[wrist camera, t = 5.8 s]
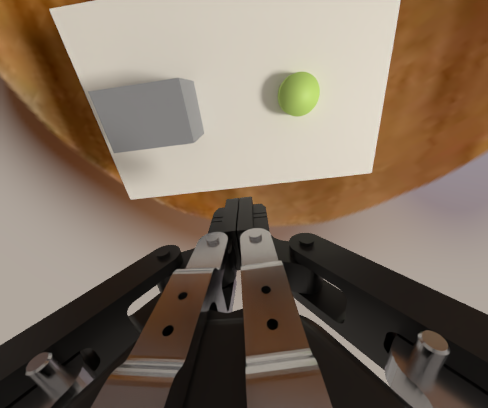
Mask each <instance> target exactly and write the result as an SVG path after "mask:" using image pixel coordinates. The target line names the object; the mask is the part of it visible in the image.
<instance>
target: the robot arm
mask: <svg viewBox="0 0 488 408" xmlns="http://www.w3.org/2000/svg"><path fill="white" fill-rule="evenodd" d="M237 270H241V282H242V300H243V309H240V310H237V311H234V312H232V308H233V303H234V296H235V290H236V272H237ZM323 279H325V280H327V281H328V282H330V283H331V284H333V285H335V286H336V287H338V288H339V289H340V290H339V289H337V288H336V287H334V286H333V285H331V284H329V283H327V282H326V281H325V280H323ZM156 285H158V288H159V290H160V294H158V295H157V296H156V297H154V298H153V299H152V300H151V301H149V302H148V303H147V304H145V305H144V306H143V307H142V308H140V309H139V310H138V311H136V312H135V313H134V314H132V315H131V316H128V315H127V310H128V308H129V306H130V305H131V304H132V303H133V302H134V301H135V300H137V299H138V298H139V297H141V296H142V295H143V294H145V293H146V292H147V291H149V290H150V289H151V288H153V287H154V286H156ZM294 298H295V299H296V300H297V301H299V302H300V303H301V304H303V305H304V306H305V307H306V308H307V309H309V310H310V311H311V312H313V313H314V314H315V315H316V316H317V317H319V318H320V319H321V320H322V321H324V322H325V323H326V324H327V325H329V326H330V327H331V328H332V329H334V330H335V331H336V332H338V333H339V334H340V335H341V336H342V337H344V338H345V339H346V340H347V341H349V342H350V343H351V344H352V345H354V346H355V347H356V348H357V349H359V350H360V351H361V352H362V353H364V354H365V355H366V356H367V357H369V358H370V359H371V360H373V361H374V362H375V363H376V364H377V365H379V366H380V367H381V368H383V369H384V370H385V375H386V379H387V381H388V383H389V385H390V387H391V388H390V387H389V386H388V385H387V384H386V383H384V382H383V381H382V380H381V379H380V378H379V377H378V376H377V375H375V374H374V373H373V372H372V371H371V370H370V369H369V368H368V367H366V366H365V365H364V364H363V363H362V362H361V361H360V360H358V359H357V358H356V357H355V356H354V355H353V354H351V353H350V352H349V351H348V350H347V349H346V348H345V347H344V346H342V345H341V344H340V343H339V342H338V341H337V340H336V339H335V338H333V337H332V336H331V335H330V334H329V333H327V331H325V330H324V329H323V328H322V327H321V326H319V325H318V324H316V323H315V322H313V321H312V320H310V319H308V318H306V317H304V316H301V315H299V313H298V310H297V307H296V304H295V300H294ZM0 408H488V315H487V314H485V313H483V312H481V311H478V310H476V309H474V308H472V307H470V306H468V305H466V304H464V303H461V302H459V301H457V300H455V299H453V298H451V297H448V296H446V295H444V294H442V293H440V292H438V291H436V290H433V289H431V288H429V287H427V286H425V285H423V284H420V283H418V282H416V281H414V280H412V279H409V278H407V277H405V276H403V275H401V274H399V273H397V272H394V271H392V270H390V269H388V268H386V267H384V266H382V265H379V264H377V263H375V262H373V261H371V260H369V259H366V258H364V257H362V256H360V255H358V254H356V253H354V252H351V251H349V250H347V249H345V248H343V247H341V246H339V245H336V244H334V243H332V242H330V241H328V240H326V239H323V238H321V237H319V236H317V235H314V234H310V233H300V234H296V235H294V236H292V237H291V238H290V240H289V241H282V240H278V239H276V238H274V237H273V236H272V235H271V234H270V232H269V225H268V219H267V213H266V207H265V206H263V205H262V204H254V205H253V202H252V197H244V198H240V200H239V198H235V199H227V200H226V205H225V208H219V209H218V210H216V211H215V212H214V215H213V219H212V221H211V225H210V228H209V231H208V234H206V235H204V236H203V237H202V238H200V239H199V241H198V243H197V245H196V247H195V248H194V249H191V250H187V251H184V252H181V251H180V248H179V247H178V246H176V245H166V246H163V247H160V248H158V249H156V250H154V251H153V252H151V253H150V254H148V255H146V256H145V257H143V258H142V259H140V260H138V261H137V262H135V263H133V264H132V265H130V266H129V267H127V268H125V269H124V270H122V271H121V272H119V273H117V274H116V275H114V276H112V277H111V278H109V279H107V280H106V281H104V282H103V283H101V284H99V285H98V286H96V287H94V288H93V289H91V290H89V291H88V292H86V293H85V294H83V295H82V296H80V297H79V298H77V299H75V300H73V301H72V302H70V303H69V304H67V305H65V306H64V307H62V308H60V309H59V310H57V311H55V312H54V313H52V314H51V315H49V316H47V317H46V318H44V319H42V320H41V321H39V322H38V323H36V324H34V325H33V326H31V327H30V328H28V329H26V330H25V331H23V332H21V333H20V334H18V335H16V336H15V337H13V338H12V339H10V340H8V341H7V342H5V343H4V344H2V345H0Z"/></svg>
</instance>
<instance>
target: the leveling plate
mask: <svg viewBox="0 0 488 408" xmlns="http://www.w3.org/2000/svg"><path fill="white" fill-rule="evenodd" d="M400 1H401V0H95V1H90V2H84V3H79V4H74V5H68V6H63V7H57V8H52V9H49V10H50V13H51V15H52V17H53V20H54V22H55V24H56V27H57V29H58V31H59V34H60V36H61V38H62V41H63V43H64V45H65V48H66V50H67V52H68V55H69V57H70V59H71V62H72V64H73V66H74V69H75V71H76V73H77V76H78V78H79V80H80V83H81V85H82V87H83V90H84V92H85V94H86V97H87V99H88V101H89V104H90V106H91V108H92V111H93V113H94V115H95V118H96V120H97V122H98V125H99V127H100V129H101V132H102V134H103V136H104V139H105V141H106V144H107V146H108V148H109V151H110V153H111V155H112V158H113V160H114V162H115V165H116V167H117V169H118V172H119V174H120V176H121V179H122V181H123V183H124V186H125V188H126V190H127V193H128V195H129V197H130V200H131V199H141V198H150V197H159V196H168V195H177V194H186V193H195V192H204V191H213V190H222V189H231V188H241V187H250V186H259V185H268V184H277V183H286V182H295V181H304V180H313V179H322V178H331V177H340V176H349V175H358V174H367V173H372V168H373V162H374V156H375V150H376V144H377V138H378V132H379V126H380V120H381V114H382V108H383V102H384V96H385V90H386V84H387V78H388V72H389V67H390V61H391V55H392V49H393V43H394V37H395V31H396V25H397V19H398V13H399V7H400Z"/></svg>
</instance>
